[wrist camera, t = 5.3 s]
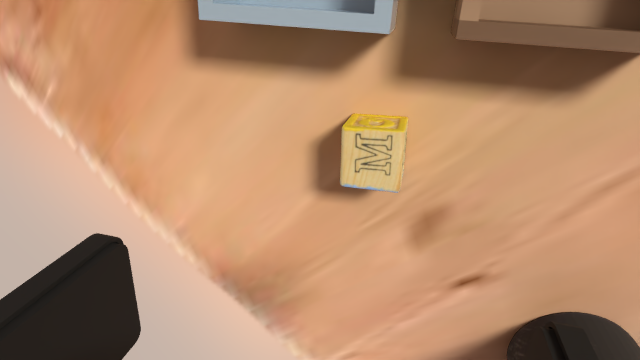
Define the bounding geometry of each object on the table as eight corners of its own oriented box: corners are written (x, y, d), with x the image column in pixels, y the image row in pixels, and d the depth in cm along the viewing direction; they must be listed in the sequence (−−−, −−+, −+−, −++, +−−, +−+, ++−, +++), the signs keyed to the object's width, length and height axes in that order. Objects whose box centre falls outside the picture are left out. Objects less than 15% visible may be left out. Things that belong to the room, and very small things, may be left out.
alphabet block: (348, 166, 23) (338, 187, 20) (350, 111, 22) (340, 127, 19) (403, 170, 22) (400, 194, 20) (408, 115, 21) (406, 132, 18)
